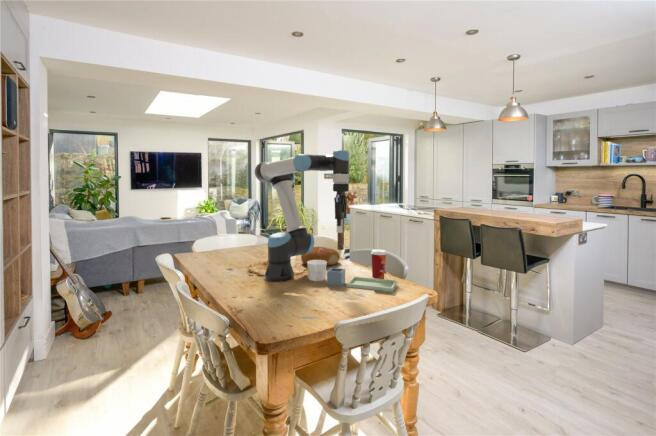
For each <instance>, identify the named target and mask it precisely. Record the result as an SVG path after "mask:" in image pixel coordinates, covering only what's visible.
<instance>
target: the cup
mask: <svg viewBox="0 0 656 436" xmlns="http://www.w3.org/2000/svg"><path fill="white" fill-rule="evenodd" d="M326 264H327V262H326V261H324V260H310V261H307V265H306V266H307V267H306V268H307V278H308V280H309V281H311V282H312V281H313V282H322V281H324V280H326V276H327V266H326Z"/></svg>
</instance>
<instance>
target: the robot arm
mask: <svg viewBox="0 0 656 436" xmlns="http://www.w3.org/2000/svg"><path fill="white" fill-rule="evenodd" d="M349 169H350V152H349V151H348V150H343V149H340V150H339V149H335V150H333V152H332V154H331V155H330V154H325V155H324V154H307V153H300V154H299V153H298V154H296V155H295V156H294V157H287V158H285V159H281V160H276V161H275V160H274V161H263V162H262V161H261V162H260V163H258V164H256V166H255V169H254V175H255V177H256V179H257V180H258V181H259V182H261V183H264V184H271V186H272V189H274V190H276V193H277V197H278V201H279V204H280V207H281V212H282V216H283V219H284V222H285V225H286V229H287V231H286V232H284V231H283V232H276V233H273V234H271V235H270V234H269V237H268V239H267V266H266V270H265V272H264V279H265V280H266V281H268V282H274V283H280V282H282V283H283V282H289V281H292V280H294V279H295V273H294V270H293V267H292V264H291V260H292V259H291V257H296V256H301V255H304V254H307V253H310V252H311V251H312V249H313V247H315V237H314V235H313V233H311V232H308V229H307V227H306V226H304V225H303V221H302V219H301V216H300V211H299V208H298V204H297V201H296V198H295V193H294V191H293V188H292V185H293V183H294V182H293V181H294V179H295V175H296V174H295V173H301V172H302V173H303V172H309V171H314V172H315V171H317V172H319V171H320V172H326V171H327V172H328V171H329V172H330V171H331V172H332V182H333V184H332V191H333V192H336V194H335V197H334V198H333V199H334V220H336V233H337V234H338V233H343V219H342V212H344V233H345V232H346V231H345V230H346V226H345V225H346V219H347V202H348V201H347V199H348V196H347V195H346V192H349V191H350V186H349V185H350V184H349V183H350V178H351V177H350V175H349V173H350V171H349Z"/></svg>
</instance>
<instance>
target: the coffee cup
mask: <svg viewBox="0 0 656 436" xmlns="http://www.w3.org/2000/svg"><path fill="white" fill-rule="evenodd" d="M370 255H371V273H372V274H371V275H372V277H371V278H376V279H385V274H386V273H385V270H386V261H387V260H386V259H387V255H388V253H387V250H386V249H385V250H384V249H379V248H378V249H377V248H376V249H372V250H371V253H370Z"/></svg>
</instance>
